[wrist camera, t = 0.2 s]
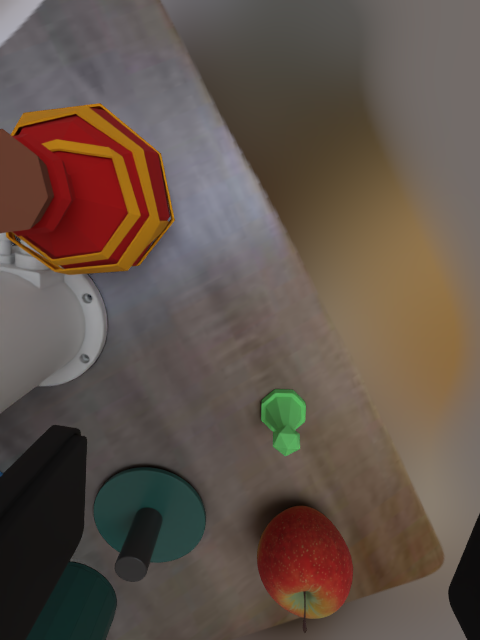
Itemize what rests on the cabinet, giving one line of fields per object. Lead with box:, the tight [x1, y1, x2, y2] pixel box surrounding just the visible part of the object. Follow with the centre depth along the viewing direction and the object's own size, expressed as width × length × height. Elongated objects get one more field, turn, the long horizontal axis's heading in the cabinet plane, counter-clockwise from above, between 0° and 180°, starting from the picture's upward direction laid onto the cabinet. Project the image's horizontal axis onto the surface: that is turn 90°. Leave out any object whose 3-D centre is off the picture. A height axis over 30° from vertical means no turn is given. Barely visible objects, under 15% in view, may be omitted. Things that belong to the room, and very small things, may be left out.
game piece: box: [261, 389, 306, 456], centre depth 31 cm, size 4×4×6 cm
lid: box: [94, 467, 206, 582], centre depth 34 cm, size 11×11×7 cm
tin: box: [26, 562, 117, 640], centre depth 37 cm, size 10×10×8 cm
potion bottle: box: [0, 103, 175, 275], centre depth 22 cm, size 10×10×15 cm
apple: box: [257, 506, 353, 633], centre depth 32 cm, size 8×8×10 cm
